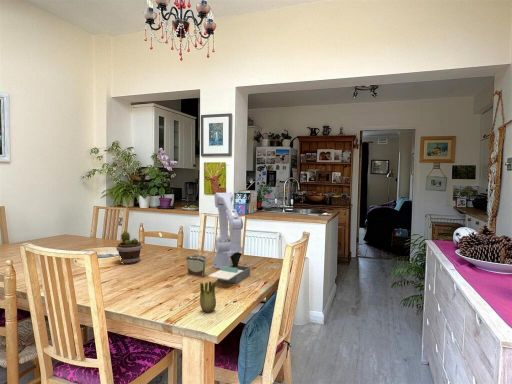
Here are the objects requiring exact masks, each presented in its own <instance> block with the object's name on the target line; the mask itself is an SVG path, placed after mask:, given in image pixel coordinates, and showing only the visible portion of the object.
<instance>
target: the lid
mask: <svg viewBox="0 0 512 384" xmlns="http://www.w3.org/2000/svg"><path fill="white" fill-rule="evenodd" d="M241 272H243V270H239V269H238V268H232V267H225V266H221V269H219V270H217V271H215V272H213V273H211V274H210V275H208V276H207V277H208V278H214V279H217V280H218V279H224V280H229V279H231V278H233V277H234V276H236V275H238V274H239V273H241Z"/></svg>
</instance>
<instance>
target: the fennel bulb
mask: <svg viewBox="0 0 512 384" xmlns="http://www.w3.org/2000/svg"><path fill="white" fill-rule="evenodd" d="M199 284H200V291H199V292H200V293H199V294H200V295H199V304H200V308H201V310H202V311H203V312H205V313H211V312H213V311H214V310H215V309H216V306H217V305H216V304H217V301H216V299H217V298H216V291H215V289H216V282H215V281H212V280H208V281H205V282H203V281H202V282H201V281H200V283H199Z"/></svg>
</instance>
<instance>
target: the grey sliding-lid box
mask: <svg viewBox="0 0 512 384" xmlns="http://www.w3.org/2000/svg"><path fill="white" fill-rule="evenodd" d="M229 267H232V268H238V269H239V270H243V272H241V273H239V274H238V275H236V276H234V277H233V278H231V279H229V280H224V279H218V278H217V282H218V281H219V282H224V283H228V284H234V285H237V284H239V283H240V282H241V281H243V280H245V279H246V278H248V277H249V276H251V267H249V266H243V265H238V267H233V264H231V266H229Z"/></svg>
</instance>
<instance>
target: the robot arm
mask: <svg viewBox="0 0 512 384" xmlns="http://www.w3.org/2000/svg"><path fill="white" fill-rule="evenodd" d="M233 201H234V194H233V193H232V192H215V194H214V206H215V208H217V211H218V223H219V236H218V237H217V238H216V239H215V251H216V252H214V256H213V267H212V268H213V269H219V270H221V266H225V267H229V266H231V265H233V267H238V266H239V262H240V259H241V257H242V255H243V251H244V247H243V246H242V229H243V228H244V222H243V218H241V217H239V214H238V212H237V209H235V208H234V206H233ZM229 234H230V235H229ZM231 263H232V264H231Z"/></svg>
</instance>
